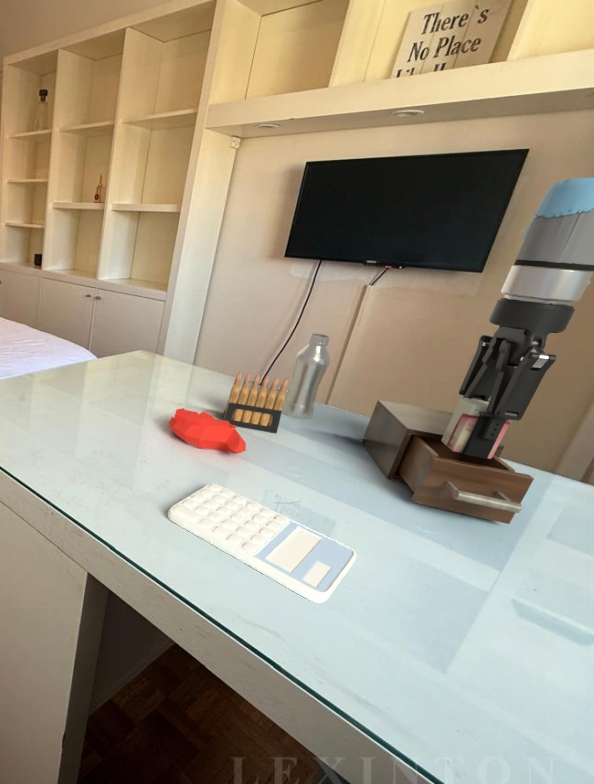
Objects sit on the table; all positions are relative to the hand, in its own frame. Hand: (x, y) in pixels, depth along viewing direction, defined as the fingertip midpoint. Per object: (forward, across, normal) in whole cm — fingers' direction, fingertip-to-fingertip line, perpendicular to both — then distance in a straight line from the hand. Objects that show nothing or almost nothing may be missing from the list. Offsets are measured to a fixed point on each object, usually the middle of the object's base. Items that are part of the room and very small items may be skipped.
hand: (466, 448), depth 72 cm
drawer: (+9, -1, 0) cm, 9 cm away
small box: (0, 0, 0) cm, 0 cm away
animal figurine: (+10, +2, +36) cm, 37 cm away
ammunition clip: (+10, +16, +28) cm, 34 cm away
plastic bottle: (+10, +26, +18) cm, 33 cm away
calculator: (+10, -27, +30) cm, 42 cm away
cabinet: (+10, +12, 0) cm, 15 cm away
